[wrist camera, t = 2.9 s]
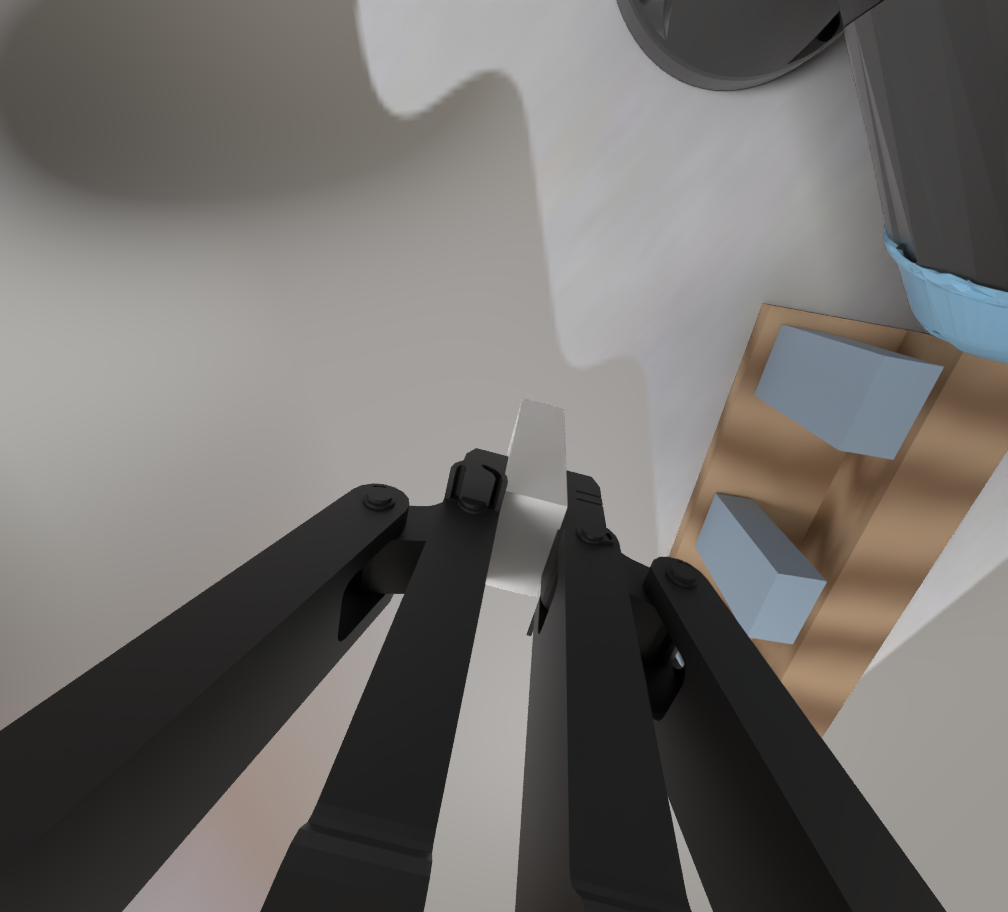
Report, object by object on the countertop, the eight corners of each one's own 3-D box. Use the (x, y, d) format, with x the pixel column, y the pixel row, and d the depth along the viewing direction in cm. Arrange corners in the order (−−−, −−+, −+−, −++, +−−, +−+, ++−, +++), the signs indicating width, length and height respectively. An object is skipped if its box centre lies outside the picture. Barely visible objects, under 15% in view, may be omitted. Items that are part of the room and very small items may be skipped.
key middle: (715, 493, 38) (778, 573, 28) (752, 499, 38) (827, 581, 29) (694, 546, 40) (746, 637, 30) (730, 551, 40) (792, 644, 31)
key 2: (781, 324, 32) (884, 355, 23) (824, 331, 32) (944, 366, 23) (753, 395, 34) (838, 450, 25) (794, 402, 34) (893, 459, 25)
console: (762, 303, 33) (810, 315, 28) (987, 344, 34) (1077, 364, 28) (632, 655, 47) (647, 710, 41) (795, 680, 47) (831, 738, 42)
